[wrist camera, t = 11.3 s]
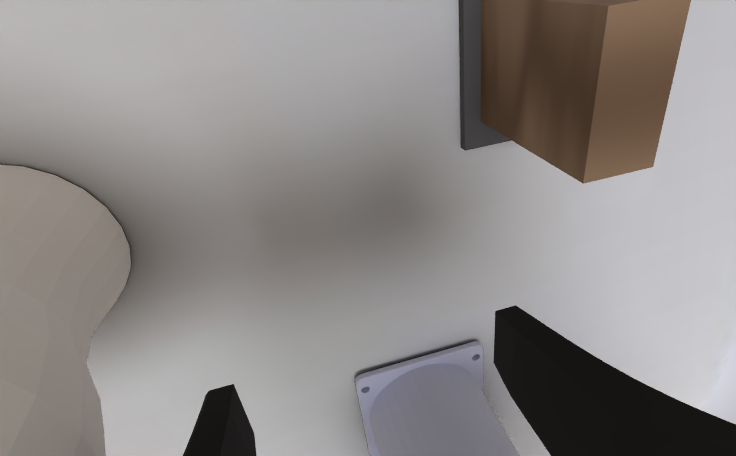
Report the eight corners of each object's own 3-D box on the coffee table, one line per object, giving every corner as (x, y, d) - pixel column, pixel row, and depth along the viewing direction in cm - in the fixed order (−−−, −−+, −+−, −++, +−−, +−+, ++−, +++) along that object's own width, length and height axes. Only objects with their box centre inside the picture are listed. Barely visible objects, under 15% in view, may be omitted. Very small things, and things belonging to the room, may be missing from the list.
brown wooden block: (531, 110, 20) (652, 166, 14) (480, 121, 20) (582, 183, 14) (540, -14, 18) (692, -10, 12) (481, -5, 17) (608, 5, 11)
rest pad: (539, 130, 21) (544, 133, 21) (461, 147, 21) (464, 150, 20) (553, -40, 18) (559, -40, 17) (458, -25, 17) (463, -26, 17)
